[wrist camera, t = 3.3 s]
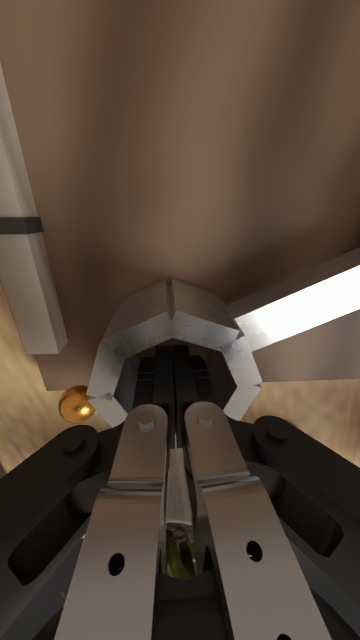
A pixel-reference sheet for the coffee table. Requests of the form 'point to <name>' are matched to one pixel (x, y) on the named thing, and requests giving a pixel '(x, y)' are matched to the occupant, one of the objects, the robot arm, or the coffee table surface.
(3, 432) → the coffee table surface
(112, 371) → the baby rattle
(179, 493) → the house plant
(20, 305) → the stand base
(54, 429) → the coffee table surface
